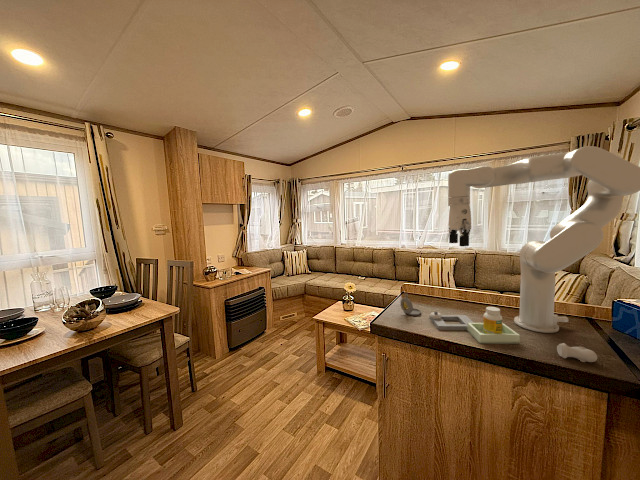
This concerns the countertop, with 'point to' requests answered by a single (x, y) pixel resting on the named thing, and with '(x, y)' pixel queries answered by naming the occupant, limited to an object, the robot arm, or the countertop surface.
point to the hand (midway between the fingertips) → (458, 244)
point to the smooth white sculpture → (576, 353)
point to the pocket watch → (409, 307)
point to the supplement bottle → (492, 321)
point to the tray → (493, 335)
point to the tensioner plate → (441, 325)
